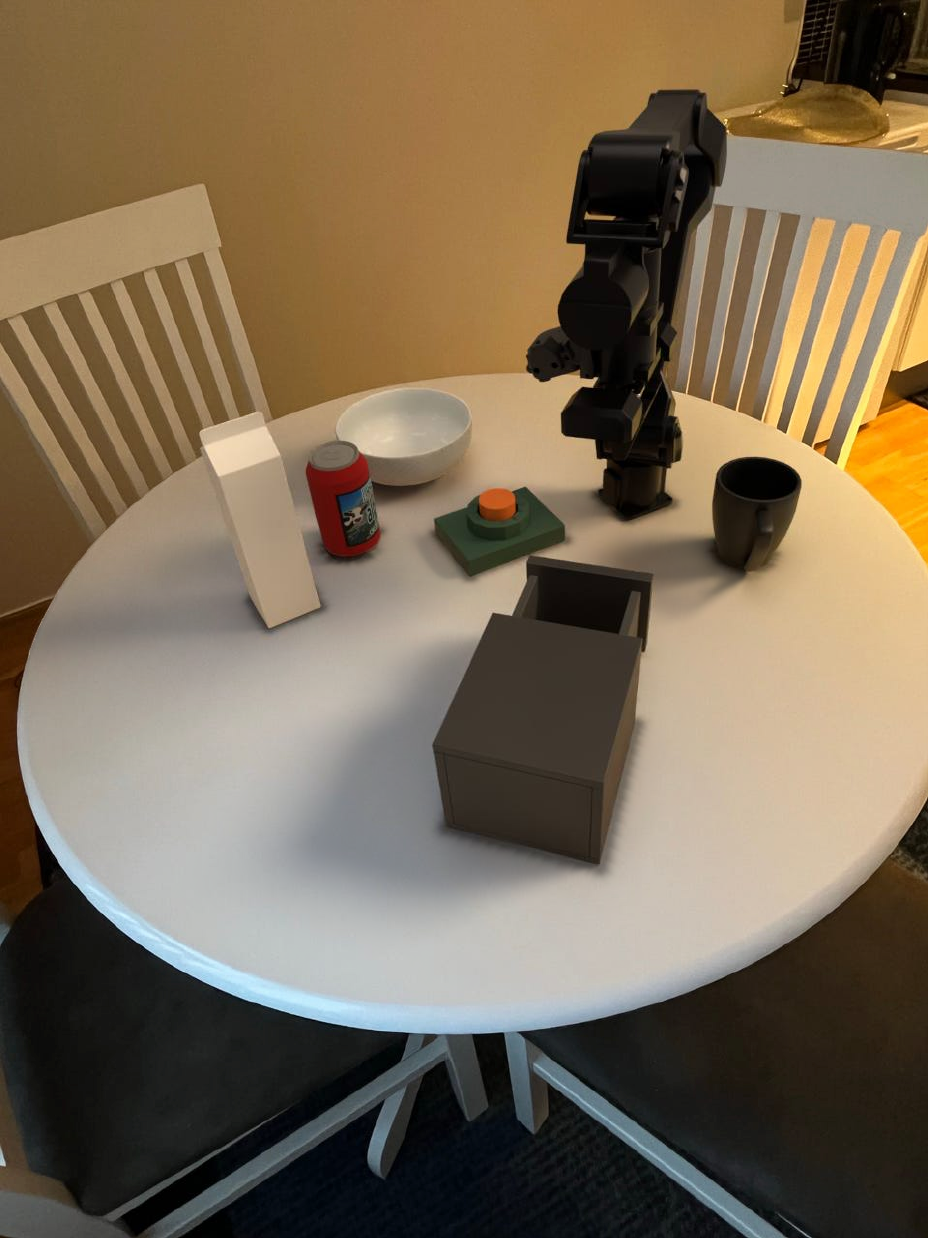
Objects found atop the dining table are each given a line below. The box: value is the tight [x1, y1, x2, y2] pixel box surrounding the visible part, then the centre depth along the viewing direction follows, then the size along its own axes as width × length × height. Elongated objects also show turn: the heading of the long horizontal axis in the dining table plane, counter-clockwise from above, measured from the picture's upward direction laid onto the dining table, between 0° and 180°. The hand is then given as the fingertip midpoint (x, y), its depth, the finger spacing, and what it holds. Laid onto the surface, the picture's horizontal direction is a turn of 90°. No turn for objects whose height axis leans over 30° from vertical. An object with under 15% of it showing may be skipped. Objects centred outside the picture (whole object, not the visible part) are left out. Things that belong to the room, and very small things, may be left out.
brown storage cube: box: [432, 612, 642, 866], centre depth 67 cm, size 15×13×11 cm
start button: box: [479, 487, 516, 521], centre depth 92 cm, size 4×4×2 cm
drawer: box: [511, 554, 655, 653], centre depth 75 cm, size 18×11×9 cm, turn 161°
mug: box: [711, 456, 803, 573], centre depth 85 cm, size 8×12×10 cm
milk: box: [198, 411, 322, 629], centre depth 82 cm, size 6×6×22 cm
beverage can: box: [304, 440, 381, 557], centre depth 92 cm, size 7×7×12 cm
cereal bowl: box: [334, 387, 473, 487], centre depth 105 cm, size 17×17×7 cm
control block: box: [433, 486, 566, 577], centre depth 94 cm, size 12×9×4 cm
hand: (620, 458), depth 82 cm, fingers closed
